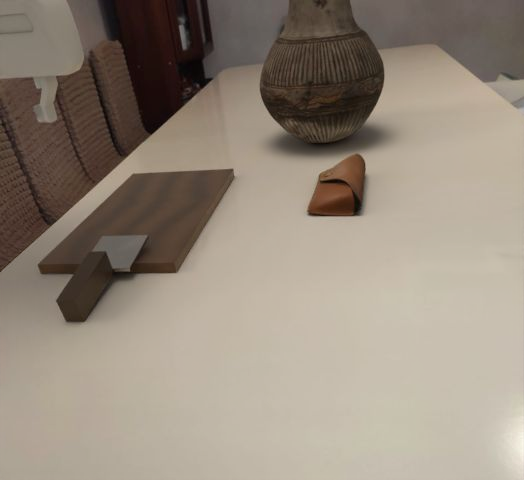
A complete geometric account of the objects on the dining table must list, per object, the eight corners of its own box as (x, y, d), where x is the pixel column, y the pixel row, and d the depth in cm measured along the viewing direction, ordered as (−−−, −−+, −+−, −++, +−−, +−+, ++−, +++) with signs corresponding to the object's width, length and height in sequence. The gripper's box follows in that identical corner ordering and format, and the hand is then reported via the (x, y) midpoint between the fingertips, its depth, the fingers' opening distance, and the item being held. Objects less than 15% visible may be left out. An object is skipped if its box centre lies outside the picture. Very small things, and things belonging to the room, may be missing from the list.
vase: (286, 125, 125) (275, -31, 108) (391, 124, 117) (398, -45, 99) (248, 159, 107) (227, -21, 90) (370, 160, 99) (373, -38, 81)
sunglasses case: (316, 173, 95) (335, 138, 90) (351, 191, 95) (371, 158, 91) (305, 213, 81) (326, 175, 76) (345, 235, 81) (368, 198, 77)
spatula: (102, 321, 62) (92, 300, 60) (48, 321, 64) (37, 300, 62) (149, 237, 75) (142, 217, 73) (103, 238, 76) (95, 219, 74)
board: (40, 273, 74) (37, 264, 74) (134, 181, 103) (132, 173, 102) (176, 272, 71) (174, 262, 70) (234, 176, 99) (233, 168, 99)
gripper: (-161, -18, 50) (-91, 134, 58) (35, -38, 46) (80, 128, 55) (-113, -23, 55) (-55, 118, 63) (68, -41, 51) (105, 112, 60)
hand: (9, 123), depth 59 cm, fingers open, 8 cm apart
